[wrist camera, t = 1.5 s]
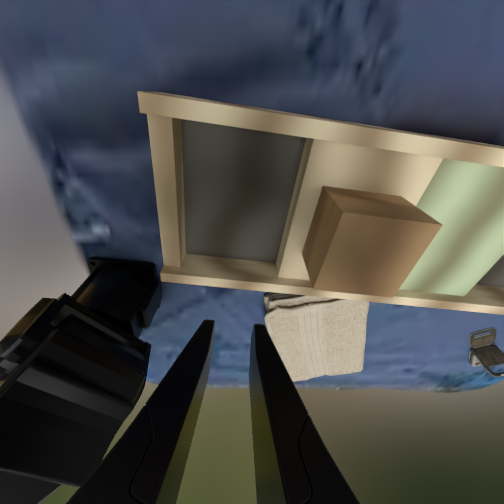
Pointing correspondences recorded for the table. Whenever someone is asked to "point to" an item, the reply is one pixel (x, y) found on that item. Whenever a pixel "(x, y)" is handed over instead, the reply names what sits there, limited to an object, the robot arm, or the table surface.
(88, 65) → the table surface
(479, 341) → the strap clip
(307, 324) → the washcloth
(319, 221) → the walnut block
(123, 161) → the table surface
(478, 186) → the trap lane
